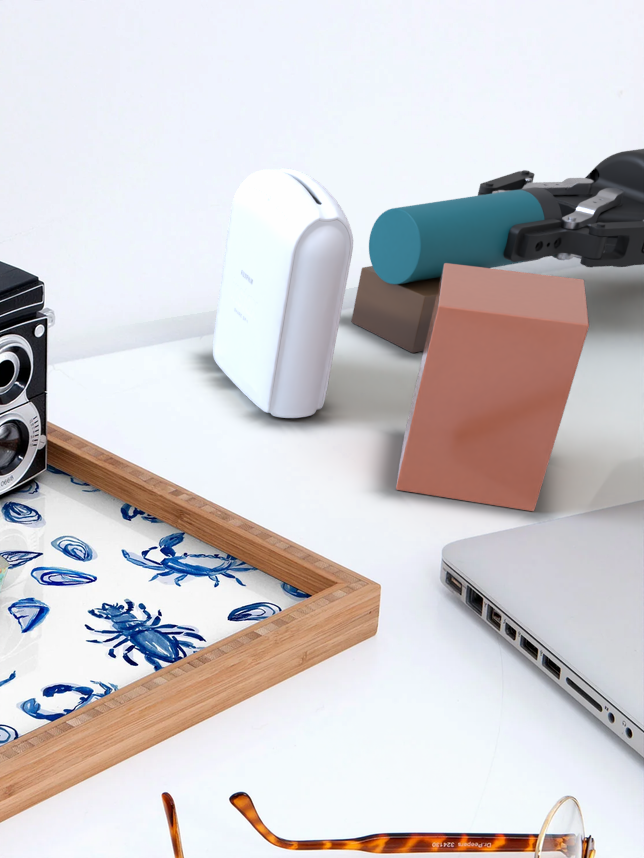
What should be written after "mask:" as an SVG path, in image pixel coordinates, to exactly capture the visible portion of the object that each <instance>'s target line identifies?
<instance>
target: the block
mask: <svg viewBox="0 0 644 858" xmlns="http://www.w3.org/2000/svg"><path fill="white" fill-rule="evenodd" d="M440 278H441V277H437V278H431V279H425V280H419V281H414V282H408V283H402V284H389V283H387V282H385V281H383V280H382V279H381V278H380V277H379V276H378V275H377V274H376V272H375V270H374V268H373V266H372V265H370V266H364V267H361V270H360V275H359V281H358V285H357V290H356V295H355V300H354V305H353V310H352V315H351V321H350V323H352V324H353V325H356V326H358V327H360V328H362V329H364V330H366V331H367V332H370V333H372V334H374V335H376V336H378V337H380V338H381V339H383V340H386V341H388V342H390V343H392V344H393V345H396V346H398V347H399V348H402V349H404V350H406V351H408V352H410V353H411V354H414V353H420V352H424V348H425V343H426V339H427V335H428V330H429V326H430V322H431V317H432V313H433V309H434V304H435V300H436V296H437V291H438V287H439V283H440Z"/></svg>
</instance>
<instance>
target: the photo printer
mask: <svg viewBox="0 0 644 858" xmlns="http://www.w3.org/2000/svg"><path fill="white" fill-rule="evenodd" d="M228 220H229V221H228V227H227V234H226V240H225V241H226V242H225V249H224V254H223V255H224V257H223V264H222V271H221V279H220V285H219V293H218V301H217V309H216V316H215V323H214V331H213V340H212V357H213V360H214V362H215V363H216V364H217V366H218V367H219V369H220V370H221V372H223V373H224V374H225V375H226V376H227V378H229V380H230V381H231V382H232V383H233V384H234V385H235V386H236V387H237V388H238V389H239V390H240V392H242V393H243V395H245V396H246V397H247V398H248V399H249V400H250V401H251V402H252V404H254V405H256V407H257V408H259V409H260V410H261V411H263V412H264V413H267V414H271V416H273V417H276V418H281V419H282V418H285V419H299V418H306V417H309V416H312V415H314V414H315V413H316V412H317V410H321V409H322V408H323V407H324V403H325V401H326V396H327V392H328V386H329V382H330V376H331V369H332V365H333V364H332V363H333V358H334V354H335V347H336V342H337V338H338V337H337V336H338V332H339V331H338V330H339V326H340V321H341V314H342V310H343V304H344V299H345V293H346V289H347V288H346V287H347V284H348V283H347V282H348V278H349V271H350V266H351V261H352V257H353V250H354V236H353V231H352V228H351V225H350V222H349V220H348V217H347V215H346V213H345V212H344V210H343V208H342V206H341V205H340V204H339V202H338V201H337V200H336V198H335V197H334V196H333V195H332V194H331V192H330V191H329V190H328V189H327V188H326V187H325V186H324V185H322V183H320V182H319V181H317V180H316V179H315V178H313V177H312V176H311V175H309V174H307V173H305V172H303V171H300V170H297V169H294V168H285V167H284V168H277V169H272V168H265V169H260V170H258V171H257V170H256V171H255V172H252V173H250V174H249V175H248V176H247V177H246V178H245V179H244V180H243V181H242V182H241V183H240V185H239V186H238V188H237V189H236V191H235V193H234V196H233V198H232V201H231V206H230V214H229V219H228Z"/></svg>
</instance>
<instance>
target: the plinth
mask: <svg viewBox="0 0 644 858" xmlns="http://www.w3.org/2000/svg"><path fill="white" fill-rule="evenodd" d="M586 293H587V292H586V285H585V279H582V278H575V277H565V276H558V275H551V274H550V275H548V274H540V273H531V272H524V271H517V270H516V271H515V270H506V269H498V268H483V267H475V266H466V265H458V264H450V263H444V265H443V270H442V274H441V278H440V283H439V287H438V291H437V296H436V300H435V304H434V309H433V313H432V317H431V322H430V326H429V330H428V335H427V339H426V343H425V348H424V351H422V352H423V353H422V357H421V361H420V365H419V369H418V374H417V379H416V382H415V387H414V391H413V395H412V400H411V404H410V409H409V413H408V417H407V422H406V425H405V430H404V435H403V439H402V447H401V454H400V459H399V465H398V473H397V477H396V484H395V489H396V490H397V491H402V492H409V493H413V494H421V495H429V496H434V497H440V498H448V499H453V500H459V501H466V502H470V503H471V502H472V503H477V504H485V505H489V506H490V505H491V506H497V507H503V508H511V509H516V510H522V511H523V510H524V511H527V512H528V511H529V512H534V511H535V510H536V506H537V503H538V500H539V497H540V493H541V490H542V487H543V484H544V480H545V477H546V473H547V470H548V467H549V463H550V460H551V457H552V456H551V455H552V453H553V449H554V447H555V442H556V440H557V436H558V434H559V429H560V427H561V423H562V419H563V416H564V412H565V409H566V406H567V403H568V399H569V396H570V392H571V389H572V385H573V383H574V378H575V376H576V375H575V374H576V372H577V369H578V365H579V363H580V360H581V359H580V358H581V355H582V353H583V348H584V345H585V342H586V339H587V335H588V331H589V328H590V321H589V312H588V311H589V310H588V302H587V295H586Z"/></svg>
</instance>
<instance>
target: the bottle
mask: <svg viewBox="0 0 644 858" xmlns="http://www.w3.org/2000/svg"><path fill="white" fill-rule="evenodd" d="M553 218H554V219H556V220H559V221H562V214H561V210H560V207H559V204H558V202H557V200H556V199H555V197H554V196H553V195H552V194H551V193H550V192H549V191H547V190H545V189H543V188H539V187H533V188H526V189H519V190H512V191H506V192H499V193H492V194H486V195H479V196H478V195H473V196H466V197H460V198H453V199H446V200H440V201H439V200H438V201H434V202H433V201H432V202H426V203H419V204H414V205H405V206H400V207H399V206H398V207H392V208H389V209H386V210H385V211H384V212H382V213H381V214H380V215H379V216H378V217H377V218H376V220H375V221H374V223H373V224H372V228H371V230H370V234H369V238H368V255H369V260H370V263H371V266H373V268H374V270H375V272H376V274H377V275H378V276H379V277H380V278H381V279H382V280H383V281H385V282H387V283H389V284H402V283H408V282H414V281H419V280H425V279H431V278H437V277H441V274H442V270H443V265H444V263H450V264H458V265H466V266H475V267H483V268H491V269H495V268H498V267H505V266H511V265H517V264H521V263H528V262H533V261H539V260H541V259H542V258H537V259H531V260H525V261H520V262H512V261H510V260H507V259H505V258H504V255H503V254H504V249H505V247H506V243H507V239H508V234H509V231H510V229H511V228H512V227H513V226H514V225H516V224H522V223H528V222H535V221H541V220H547V219H553Z"/></svg>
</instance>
